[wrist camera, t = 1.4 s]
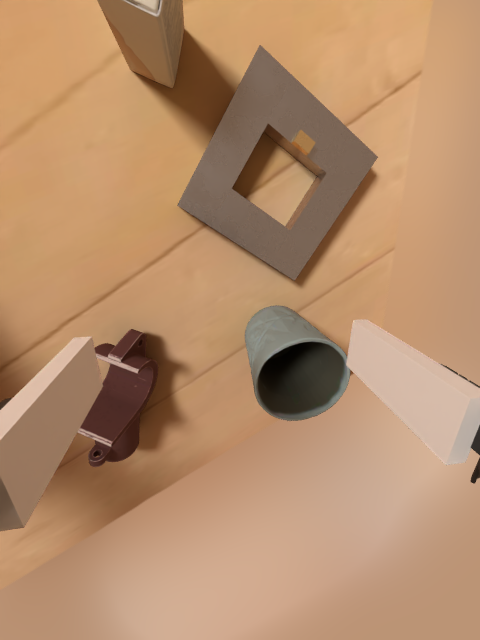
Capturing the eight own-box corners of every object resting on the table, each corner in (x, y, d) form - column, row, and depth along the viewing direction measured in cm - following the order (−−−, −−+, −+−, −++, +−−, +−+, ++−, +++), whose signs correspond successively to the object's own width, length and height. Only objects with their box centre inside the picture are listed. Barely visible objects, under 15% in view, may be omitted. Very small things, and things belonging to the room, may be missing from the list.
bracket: (163, 335, 33) (107, 391, 24) (156, 423, 42) (113, 486, 33) (118, 320, 34) (50, 368, 25) (121, 409, 42) (71, 467, 34)
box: (138, 4, 24) (96, -153, 14) (186, 28, 25) (179, -102, 15) (128, 73, 26) (83, -22, 15) (173, 93, 27) (159, 16, 16)
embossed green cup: (319, 320, 39) (369, 362, 27) (281, 375, 41) (313, 433, 30) (261, 288, 35) (291, 320, 24) (224, 349, 38) (236, 403, 27)
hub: (178, 206, 30) (176, 205, 27) (254, 59, 27) (262, 39, 24) (288, 276, 35) (296, 282, 32) (364, 161, 32) (382, 155, 29)
